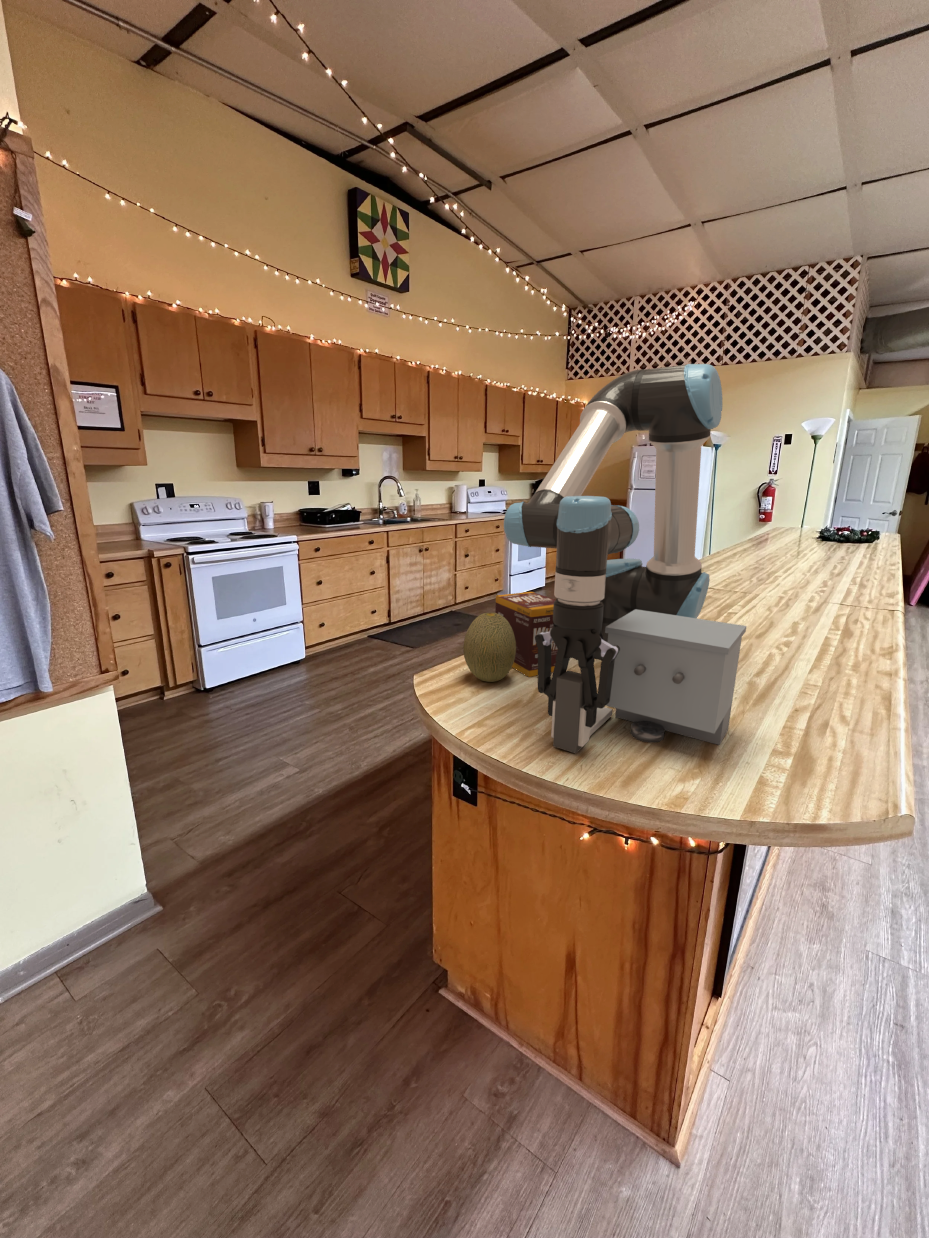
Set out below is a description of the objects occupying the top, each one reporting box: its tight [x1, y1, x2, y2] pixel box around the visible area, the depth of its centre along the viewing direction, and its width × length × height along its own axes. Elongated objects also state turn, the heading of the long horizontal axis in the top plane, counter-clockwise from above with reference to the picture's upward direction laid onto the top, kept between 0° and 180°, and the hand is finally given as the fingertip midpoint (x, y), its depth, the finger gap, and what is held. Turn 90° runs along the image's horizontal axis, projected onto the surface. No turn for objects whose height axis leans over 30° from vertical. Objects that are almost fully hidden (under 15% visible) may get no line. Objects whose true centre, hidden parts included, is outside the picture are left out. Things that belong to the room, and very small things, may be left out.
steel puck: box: [630, 721, 665, 744], centre depth 94 cm, size 6×6×2 cm
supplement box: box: [494, 591, 558, 678], centre depth 126 cm, size 10×15×16 cm
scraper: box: [552, 670, 614, 754], centre depth 93 cm, size 4×17×12 cm, turn 144°
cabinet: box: [605, 609, 747, 746], centre depth 92 cm, size 19×16×19 cm
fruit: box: [462, 612, 516, 683], centre depth 116 cm, size 11×11×15 cm
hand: (570, 738), depth 89 cm, fingers closed on scraper, 4 cm apart
